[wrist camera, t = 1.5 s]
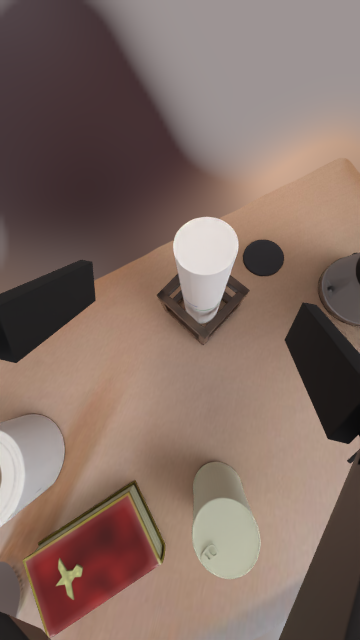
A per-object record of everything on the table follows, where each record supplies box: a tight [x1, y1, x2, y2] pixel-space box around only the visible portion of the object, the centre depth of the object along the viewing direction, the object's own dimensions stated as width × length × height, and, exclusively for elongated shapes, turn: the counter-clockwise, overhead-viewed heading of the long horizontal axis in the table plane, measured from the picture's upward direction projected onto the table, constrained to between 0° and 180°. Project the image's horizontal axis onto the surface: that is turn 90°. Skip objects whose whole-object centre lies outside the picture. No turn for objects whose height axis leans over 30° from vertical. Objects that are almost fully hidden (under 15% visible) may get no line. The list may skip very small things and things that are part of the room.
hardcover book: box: [23, 481, 165, 638], centre depth 37 cm, size 12×21×4 cm, turn 121°
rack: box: [157, 274, 250, 345], centre depth 42 cm, size 12×12×10 cm
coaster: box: [243, 240, 284, 276], centre depth 49 cm, size 9×9×1 cm
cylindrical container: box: [173, 217, 239, 324], centre depth 35 cm, size 7×7×25 cm
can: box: [192, 462, 260, 579], centre depth 33 cm, size 9×9×12 cm
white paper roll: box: [0, 414, 65, 527], centre depth 38 cm, size 16×15×11 cm
